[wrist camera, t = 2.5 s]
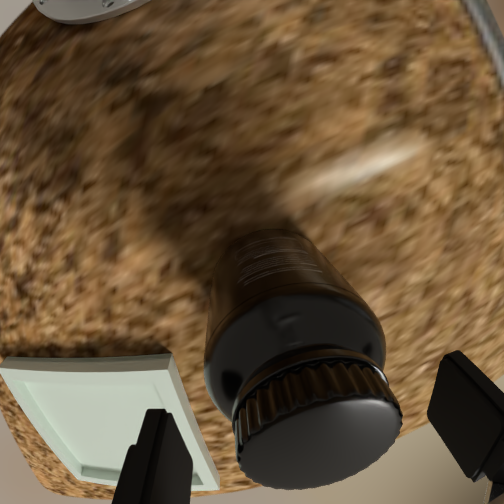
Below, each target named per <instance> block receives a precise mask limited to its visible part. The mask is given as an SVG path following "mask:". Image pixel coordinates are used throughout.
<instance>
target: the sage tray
mask: <svg viewBox="0 0 504 504" xmlns="http://www.w3.org/2000/svg"><path fill="white" fill-rule="evenodd" d="M0 373H1V375H2V377H3V379H4V380H5V382H6V384H7V386H8V387H9V389H10V391H11V392H12V394H13V396H14V397H15V399H16V400H17V402H18V403H19V405H20V407H21V408H22V410H23V411H24V413H25V414H26V416H27V417H28V418H29V420H30V421H31V423H32V424H33V426H34V427H35V428H36V430H37V431H38V432H39V434H40V435H41V436H42V438H43V439H44V440H45V442H46V443H47V444H48V446H49V447H50V448H51V449H52V451H53V452H54V453H55V454H56V455H57V457H58V458H59V459H60V460H61V461H62V463H63V464H64V465H65V466H66V467H67V468H68V469H69V471H70V472H71V473H72V474H73V475H74V476H75V477H76V478H77V479H78V480H82V481H87V482H93V483H98V484H105V485H112V486H117V483H118V480H119V476H120V473H121V470H122V467H123V463H124V460H125V457H126V454H127V450H128V448H129V446H131V445H132V444H136V443H137V439H138V436H139V433H140V429H141V426H142V423H143V420H144V416H145V413H146V411H147V409H165V410H166V411H167V413H169V412H170V413H172V415H173V417H174V419H175V422H176V424H177V426H178V429H179V431H180V433H181V435H182V438H183V440H184V442H185V444H186V446H187V449H188V451H189V453H190V455H191V457H192V460H193V475H192V485H191V491H207V490H220V476H219V474H218V471H217V469H216V467H215V465H214V462H213V460H212V458H211V456H210V453H209V451H208V449H207V446H206V444H205V441H204V439H203V437H202V434H201V432H200V429H199V427H198V424H197V422H196V419H195V416H194V414H193V411H192V409H191V406H190V403H189V401H188V398H187V395H186V392H185V390H184V387H183V384H182V381H181V378H180V375H179V372H178V370H177V367H176V364H175V361H174V358H173V354H172V353H168V354H155V355H140V356H122V357H97V358H32V357H8V356H7V357H6V359H5V360H4V361H3V362H2V363H1V364H0Z"/></svg>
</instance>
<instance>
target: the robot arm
mask: <svg viewBox="0 0 504 504" xmlns="http://www.w3.org/2000/svg"><path fill="white" fill-rule="evenodd" d="M149 1H151V0H33V3H34V5H35V6H36V8H37V9H38V11H40V12H41V13H42V14H44V15H45V16H46V17H48V18H50V19H52V20H54V21H56V22H60V23H65V24H86V23H92V22H98V21H102V20H105V19H108V18H112V17H115V16H118V15H121V14H123V13H125V12H128V11H130V10H133V9H135V8H137V7H139V6H141V5H143V4H145V3H147V2H149ZM427 417H428V419H429V421H430V422H431V424H432V425H433V427H434V428H435V430H436V431H437V433H438V434H439V436H440V437H441V438H442V440H443V441H444V443H445V445H446V446H447V448H448V449H449V451H450V452H451V453H452V455H453V457H454V458H455V460H456V461H457V463H458V464H459V466H460V468H461V469H462V471H463V472H464V474H465V475H466V477H468V478H471V479H472V481H473V482H476V481H478V480H479V479H481V478H483V477H484V476H485V475H486V476H487V478H488V479H489V480H488V485H487V490H486V494H485V499H484V503H483V504H504V393H503V392H502V391H501V390H500V389H499V388H498V387H497V386H496V385H495V384H494V383H493V382H492V381H491V380H490V379H489V378H488V377H487V376H486V375H485V374H484V373H483V372H482V371H481V370H480V369H479V368H478V367H477V366H476V365H475V364H474V363H473V362H471V361H470V360H469V359H468V358H467V357H466V356H465V355H464V354H463V353H462V352H461V351H459V350H456V351H454V352H451V353H449V354H446V355H444V357H443V359H442V360H441V361H440V364H439V368H438V373H437V377H436V381H435V385H434V389H433V392H432V396H431V400H430V403H429V406H428V410H427ZM192 475H193V460H192V457H191V455H190V453H189V451H188V449H187V446H186V444H185V442H184V440H183V438H182V435H181V433H180V431H179V429H178V426H177V424H176V422H175V419H174V417H173V415H172V413H170V412H169V413H167V411H166V410H165V409H147V411H146V413H145V416H144V420H143V423H142V426H141V429H140V433H139V436H138V439H137V443H136V444H132V445H131V446H129V448H128V450H127V454H126V457H125V460H124V463H123V467H122V470H121V473H120V476H119V480H118V483H117V487H116V490H115V494H114V497H113V501H112V504H190V496H191V485H192Z"/></svg>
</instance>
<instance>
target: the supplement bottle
mask: <svg viewBox="0 0 504 504" xmlns="http://www.w3.org/2000/svg"><path fill="white" fill-rule="evenodd" d="M385 360H386V341H385V335H384V332H383V329H382V326H381V324H380V322H379V320H378V318H377V317H376V315H375V314H374V312H373V311H372V310H371V309H370V307H369V306H368V305H367V304H366V302H365V301H364V300H363V299H362V298H361V296H360V295H359V294H358V293H357V292H356V291H355V290H354V288H353V287H352V286H351V285H350V284H349V283H348V282H347V281H346V279H345V278H344V277H343V276H342V275H341V274H340V273H339V272H338V271H337V269H336V268H335V267H334V266H333V265H332V264H331V263H330V262H329V261H328V260H327V258H326V257H325V256H324V255H323V254H322V253H321V252H320V251H319V250H318V249H317V248H316V247H315V246H314V245H313V244H312V243H311V242H310V241H308V240H307V239H305V238H304V237H302V236H300V235H298V234H296V233H293V232H290V231H286V230H280V229H267V230H261V231H256V232H253V233H250V234H248V235H246V236H244V237H242V238H240V239H239V240H237V241H236V242H234V243H233V244H232V245H231V246H230V247H229V248H228V249H227V250H226V251H225V252H224V253H223V255H222V256H221V258H220V260H219V261H218V263H217V266H216V268H215V271H214V274H213V279H212V285H211V293H210V303H209V312H208V322H207V332H206V342H205V353H204V379H205V384H206V388H207V391H208V393H209V396H210V397H211V399H212V401H213V403H214V404H215V406H216V407H217V408H218V410H219V411H220V412H221V413H222V414H223V415H224V416H225V417H226V418H227V419H228V420H230V421H231V422H232V428H233V433H234V435H235V450H236V459H237V462H238V463H239V468H240V470H241V471H243V472H244V473H245V475H246V477H248V478H250V479H252V480H253V482H255V483H259V484H262V485H263V486H265V487H272V488H274V489H285V490H294V489H298V490H302V489H308V488H316V487H320V486H325V485H329V484H332V483H334V482H338V481H342V480H344V479H346V478H348V477H350V476H353V475H355V474H357V473H358V472H360V471H362V470H364V469H365V468H367V467H368V466H370V465H371V464H372V463H374V462H375V461H377V460H378V459H379V458H380V457H381V456H382V455H383V454H384V453H386V452H387V451H388V449H389V447H390V446H392V445H393V444H394V442H395V439H396V438H397V436H398V435H399V434H400V431H399V430H400V428H401V426H402V425H403V423H402V417H403V414H402V411H401V409H400V405H399V403H398V401H397V399H396V397H395V396H394V394H393V393H392V391H391V389H390V388H389V384H388V380H387V378H386V376H385V374H384V373H383V370H384V366H385Z"/></svg>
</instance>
